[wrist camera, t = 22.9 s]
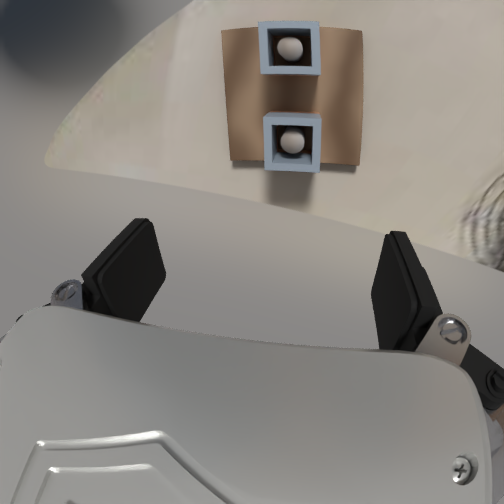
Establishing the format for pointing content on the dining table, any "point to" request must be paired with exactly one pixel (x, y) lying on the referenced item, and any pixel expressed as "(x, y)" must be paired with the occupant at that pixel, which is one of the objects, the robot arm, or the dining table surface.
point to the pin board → (295, 93)
